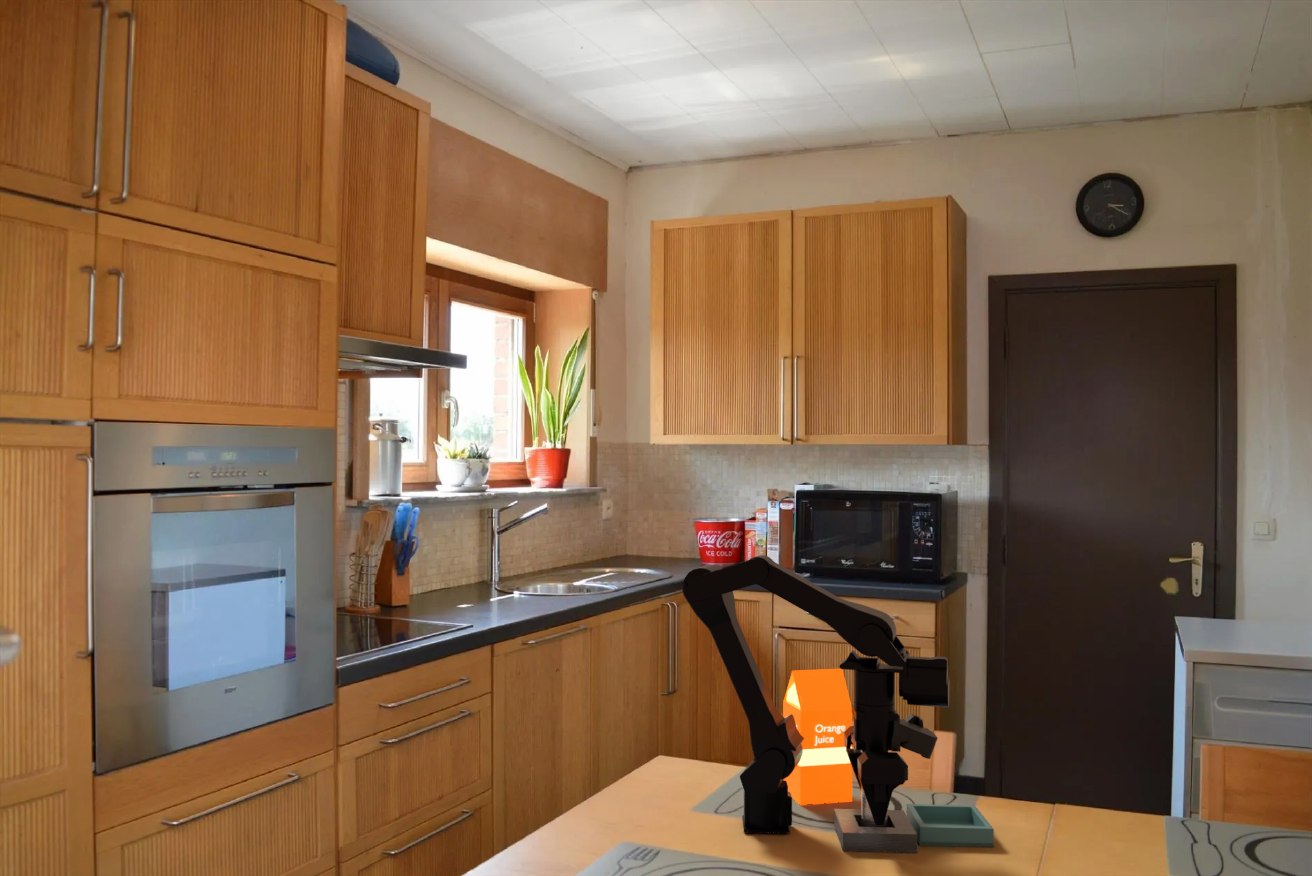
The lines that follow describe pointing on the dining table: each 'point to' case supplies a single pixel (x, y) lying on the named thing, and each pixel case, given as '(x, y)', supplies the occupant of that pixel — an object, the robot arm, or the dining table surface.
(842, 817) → the grey flat square frame
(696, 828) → the dining table surface
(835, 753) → the orange juice
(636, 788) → the dining table surface
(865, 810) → the pin
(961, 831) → the tray
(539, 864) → the dining table surface
